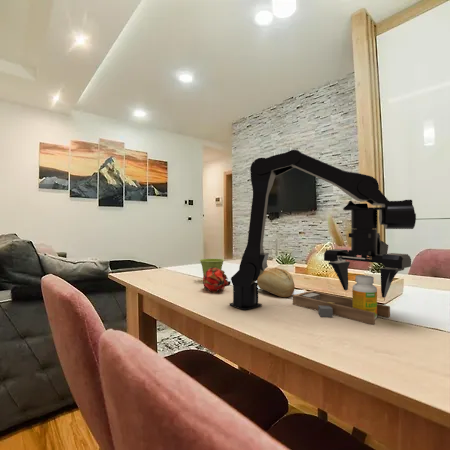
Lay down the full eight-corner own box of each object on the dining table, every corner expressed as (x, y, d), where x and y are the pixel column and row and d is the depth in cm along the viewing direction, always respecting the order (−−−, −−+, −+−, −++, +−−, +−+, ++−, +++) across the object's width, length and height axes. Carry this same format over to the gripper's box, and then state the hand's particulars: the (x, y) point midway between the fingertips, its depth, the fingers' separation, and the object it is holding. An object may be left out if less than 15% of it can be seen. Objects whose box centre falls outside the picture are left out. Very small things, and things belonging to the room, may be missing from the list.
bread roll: (272, 287, 105) (272, 265, 105) (303, 296, 92) (303, 270, 92) (250, 290, 100) (250, 267, 100) (279, 300, 87) (279, 273, 87)
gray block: (332, 317, 71) (332, 308, 71) (320, 316, 71) (320, 308, 71) (329, 313, 74) (329, 305, 74) (318, 313, 74) (318, 305, 74)
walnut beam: (372, 324, 66) (372, 312, 66) (292, 304, 83) (292, 294, 83) (390, 316, 71) (390, 305, 71) (311, 298, 88) (311, 289, 88)
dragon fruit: (211, 291, 106) (223, 304, 95) (193, 279, 103) (203, 291, 92) (225, 271, 107) (238, 282, 96) (207, 259, 104) (219, 268, 93)
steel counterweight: (309, 305, 81) (309, 297, 81) (301, 304, 83) (301, 295, 83) (319, 302, 84) (319, 294, 84) (312, 301, 86) (312, 292, 86)
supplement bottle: (367, 321, 68) (366, 279, 68) (347, 315, 73) (347, 275, 73) (382, 318, 70) (382, 277, 70) (362, 312, 75) (362, 273, 75)
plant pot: (202, 279, 120) (202, 258, 120) (225, 280, 119) (225, 258, 119) (197, 284, 111) (197, 261, 111) (222, 284, 110) (222, 261, 110)
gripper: (420, 229, 69) (420, 295, 69) (345, 228, 84) (345, 283, 84) (400, 229, 62) (400, 303, 62) (322, 228, 77) (322, 288, 77)
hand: (364, 293), depth 72 cm, fingers open, 9 cm apart
